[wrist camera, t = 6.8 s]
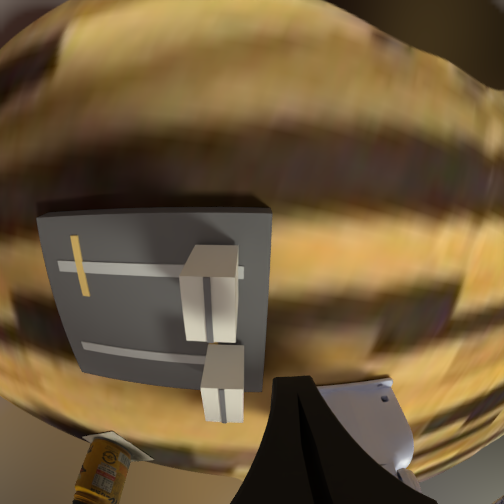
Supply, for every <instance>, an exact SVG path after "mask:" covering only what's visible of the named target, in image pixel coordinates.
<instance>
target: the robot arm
mask: <svg viewBox="0 0 504 504" xmlns="http://www.w3.org/2000/svg"><path fill="white" fill-rule="evenodd" d="M392 384H393V380H392V378H385V379H378V380H372V381H365V382H357V383H348V384H339V385H329V386H316V385H315V383H314V381H313V379H312V377H310V376H294V377H276V378H274V379H273V384H272V396H271V410H270V414H269V418H268V422H267V426H266V429H265V432H264V435H263V438H262V441H261V444H260V447H259V449H258V452H257V454H256V456H255V459H254V461H253V463H252V465H251V468H250V470H249V472H248V474H247V475H246V477H245V479H244V481H243V483H242V485H241V487H240V488H239V490H238V492H237V494H236V495H235V497H234V498H233V500H232V501H231V503H230V504H438V503H437V501H435V500H434V499H431V498H429V497H427V496H425V495H423V494H422V491H421V488H420V486H419V483H418V481H417V479H416V477H415V475H414V473H413V472H412V471H411V470H407V469H405V468H406V467H407V466H408V465H409V463H410V461H411V459H412V456H413V451H414V442H413V435H412V431H411V429H410V426H409V424H408V422H407V420H406V418H405V416H404V413H403V411H402V409H401V407H400V405H399V403H398V401H397V399H396V397H395V395H394V392H393V390H392V388H391V386H392ZM492 504H504V495H503V496H502V497H500V498H499V499H497V500H496V501H495V502H493V503H492Z"/></svg>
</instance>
